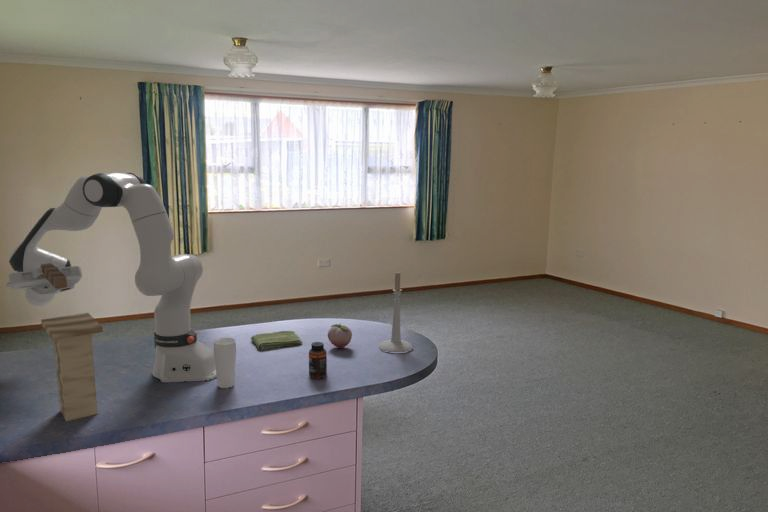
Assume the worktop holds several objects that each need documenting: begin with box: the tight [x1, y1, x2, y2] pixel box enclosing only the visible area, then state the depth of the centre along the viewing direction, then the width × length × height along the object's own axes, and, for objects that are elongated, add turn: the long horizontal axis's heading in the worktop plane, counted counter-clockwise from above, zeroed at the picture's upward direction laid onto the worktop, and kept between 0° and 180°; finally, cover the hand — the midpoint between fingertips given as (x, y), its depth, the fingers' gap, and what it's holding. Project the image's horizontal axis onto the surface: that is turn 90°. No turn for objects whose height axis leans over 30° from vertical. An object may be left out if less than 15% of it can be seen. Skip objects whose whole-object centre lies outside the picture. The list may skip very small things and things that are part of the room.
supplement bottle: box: [308, 341, 328, 380], centre depth 195 cm, size 6×6×11 cm
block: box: [41, 263, 67, 289], centre depth 175 cm, size 22×3×3 cm, turn 39°
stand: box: [40, 312, 104, 423], centre depth 164 cm, size 16×12×26 cm
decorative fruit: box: [327, 323, 353, 349], centre depth 221 cm, size 9×8×10 cm
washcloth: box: [250, 330, 303, 351], centre depth 227 cm, size 13×18×3 cm
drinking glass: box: [213, 337, 237, 389], centre depth 185 cm, size 7×7×15 cm
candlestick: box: [378, 271, 413, 352], centre depth 221 cm, size 13×13×30 cm
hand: (48, 269), depth 181 cm, fingers closed on block, 3 cm apart
